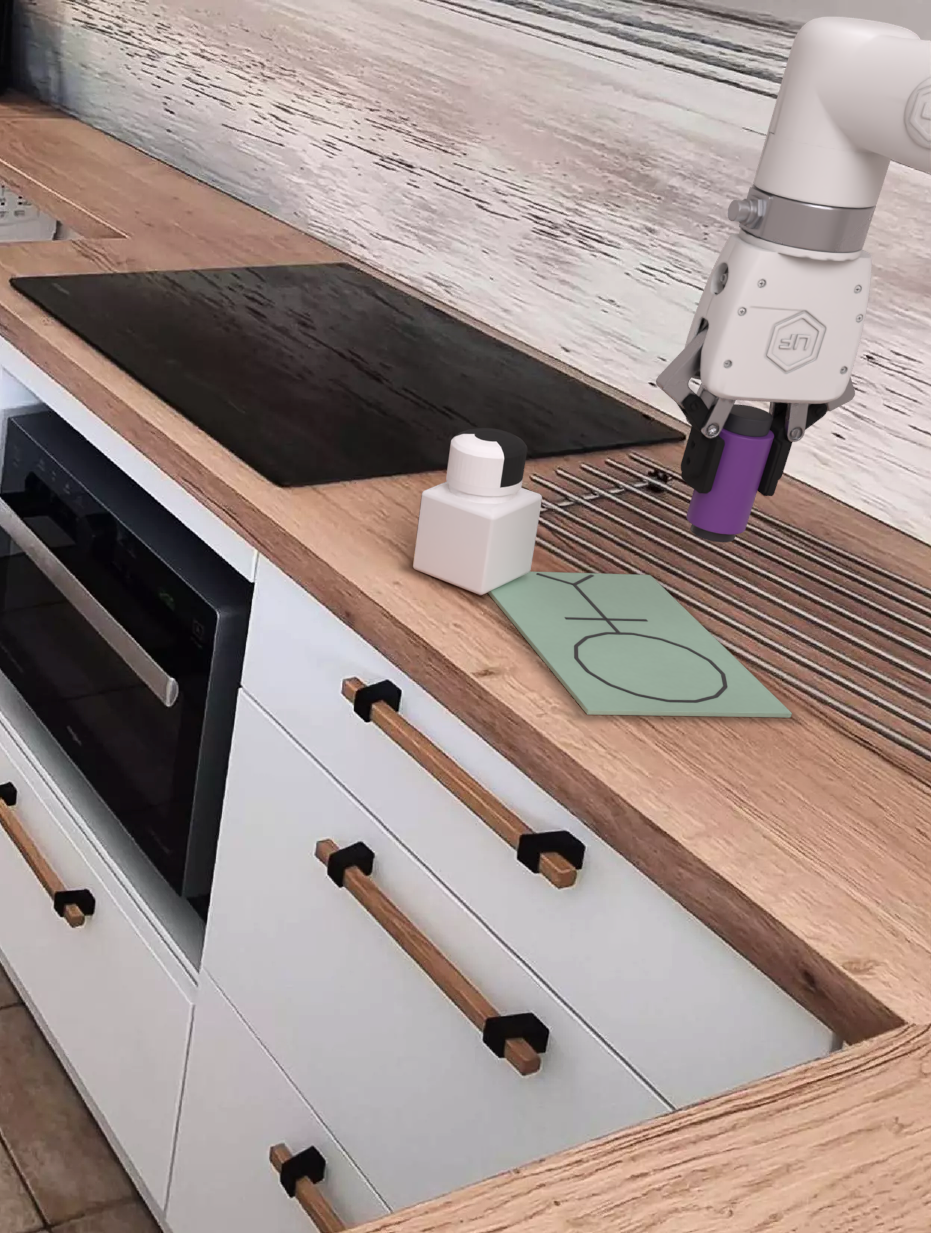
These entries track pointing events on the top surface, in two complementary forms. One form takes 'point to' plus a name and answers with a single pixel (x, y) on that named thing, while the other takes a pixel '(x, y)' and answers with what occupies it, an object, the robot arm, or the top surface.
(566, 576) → the sketch card
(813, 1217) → the top surface
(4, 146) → the top surface
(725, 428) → the cylinder
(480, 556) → the medicine bottle
